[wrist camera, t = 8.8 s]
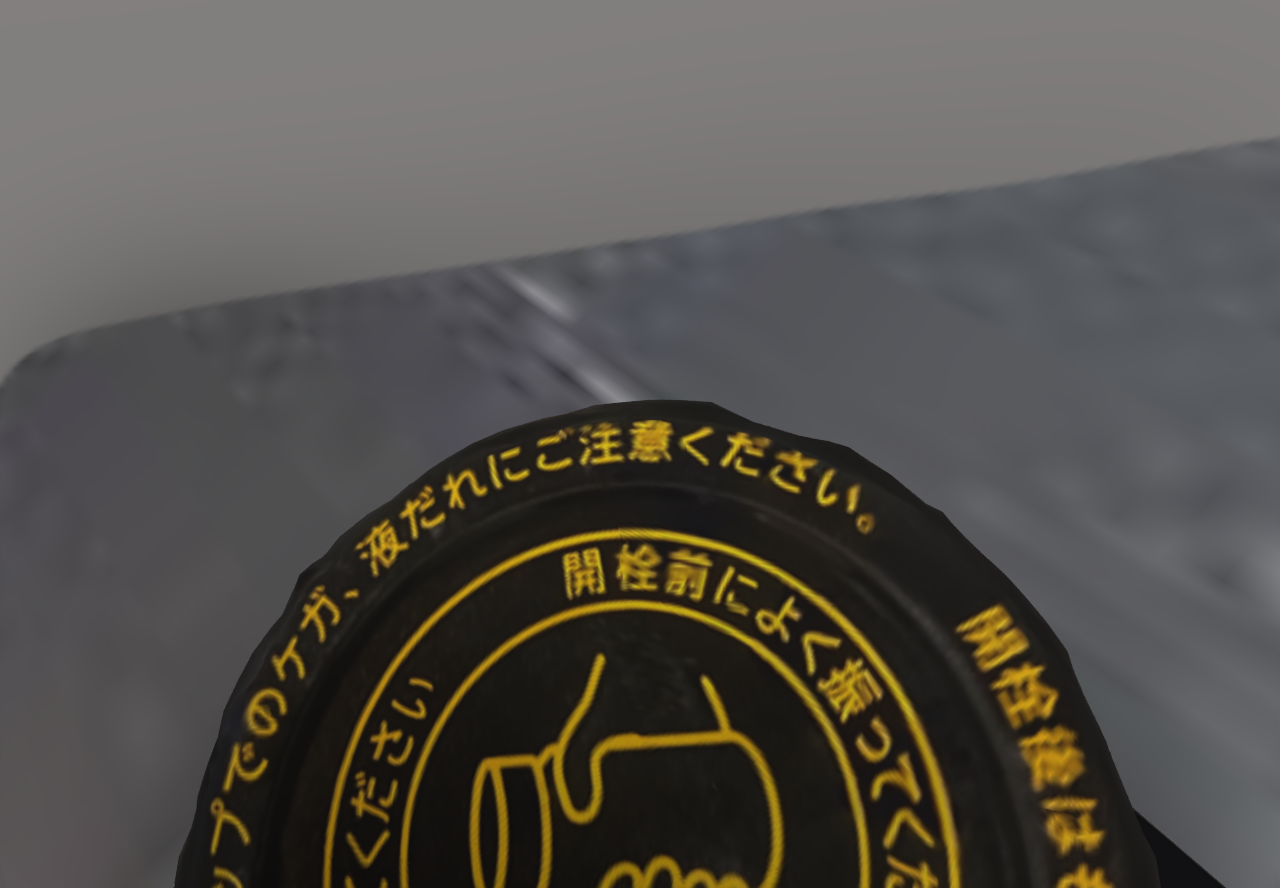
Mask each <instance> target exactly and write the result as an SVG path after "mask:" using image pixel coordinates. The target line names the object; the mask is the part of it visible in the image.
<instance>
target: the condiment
mask: <svg viewBox="0 0 1280 888" xmlns="http://www.w3.org/2000/svg"><path fill="white" fill-rule="evenodd" d="M175 888H1161V884H1160V879H1159V873H1158V867H1157V861H1156V856H1155V854H1154V853H1153V851H1152V849H1151V847H1150V845H1149V843H1148V841H1147V839H1146V837H1145V836H1144V834H1143V831H1142V829H1141V827H1140V824H1139V822H1138V820H1137V817H1136V815H1135V812H1134V810H1133V808H1132V805H1131V803H1130V801H1129V798H1128V796H1127V793H1126V791H1125V789H1124V786H1123V784H1122V781H1121V779H1120V776H1119V774H1118V771H1117V769H1116V767H1115V764H1114V762H1113V759H1112V756H1111V753H1110V752H1109V749H1108V746H1107V743H1106V740H1105V738H1104V736H1103V734H1102V732H1101V729H1100V727H1099V725H1098V723H1097V721H1096V719H1095V717H1094V715H1093V713H1092V711H1091V709H1090V707H1089V705H1088V703H1087V700H1086V698H1085V696H1084V694H1083V692H1082V689H1081V687H1080V685H1079V682H1078V680H1077V677H1076V675H1075V673H1074V670H1073V667H1072V664H1071V661H1070V658H1069V654H1068V652H1067V650H1066V649H1065V647H1064V646H1063V644H1062V643H1061V642H1060V640H1059V639H1058V637H1057V636H1056V635H1055V633H1054V632H1053V630H1052V629H1051V628H1050V626H1049V625H1048V623H1047V622H1046V621H1045V620H1044V619H1043V617H1042V616H1041V615H1040V614H1039V613H1038V611H1037V610H1036V609H1035V608H1034V607H1033V605H1032V604H1031V603H1030V602H1029V600H1028V599H1027V598H1026V597H1025V596H1024V595H1023V594H1022V593H1021V591H1020V590H1019V589H1018V588H1017V587H1016V586H1015V585H1014V584H1013V583H1012V581H1011V580H1010V579H1009V578H1008V577H1007V576H1006V575H1005V574H1004V573H1003V572H1002V571H1001V570H1000V569H998V568H997V567H996V566H995V565H994V564H993V563H992V562H991V561H990V560H989V559H987V558H986V557H985V556H984V555H983V554H982V553H981V552H980V551H979V550H978V549H977V548H976V547H975V546H974V545H973V544H972V543H971V542H970V541H969V540H967V539H966V538H965V537H964V536H963V534H962V533H961V532H960V531H959V530H958V529H957V528H956V527H955V526H954V525H953V524H952V523H951V522H950V520H949V519H948V518H947V517H946V516H945V514H944V513H943V512H942V511H940V510H938V509H935V508H933V507H931V506H929V505H927V504H926V503H924V502H923V501H922V500H921V499H920V498H918V497H917V496H916V495H915V494H913V493H912V492H911V491H910V490H909V489H907V488H906V487H905V486H904V485H903V484H901V483H900V482H899V481H898V480H896V479H895V478H894V477H893V476H892V475H890V474H889V473H887V472H886V471H884V470H882V469H881V468H879V467H878V466H876V465H875V464H873V463H871V462H870V461H868V460H867V459H865V458H864V457H862V456H861V455H859V454H858V453H856V452H855V451H854V450H852V449H851V448H849V447H846V446H843V445H839V444H836V443H833V442H830V441H824V440H818V439H813V438H808V437H803V436H799V435H795V434H792V433H788V432H785V431H782V430H779V429H775V428H772V427H770V426H765V425H762V424H758V423H755V422H752V421H750V420H748V419H746V418H744V417H742V416H739V415H737V414H735V413H733V412H731V411H729V410H727V409H725V408H723V407H720V406H718V405H716V404H714V403H712V402H701V401H686V400H643V401H632V402H621V403H612V404H603V405H594V406H591V407H588V408H584V409H581V410H578V411H574V412H571V413H568V414H564V415H558V416H553V417H548V418H543V419H540V420H536V421H533V422H530V423H526V424H523V425H519V426H516V427H512V428H509V429H506V430H503V431H501V432H498V433H496V434H494V435H491V436H489V437H487V438H484V439H482V440H480V441H477V442H475V443H473V444H471V445H469V446H467V447H466V448H464V449H462V450H460V451H459V452H457V453H455V454H454V455H452V456H450V457H448V458H447V459H445V460H444V461H442V462H440V463H439V464H437V465H436V466H434V467H433V468H431V469H430V470H428V471H427V472H426V473H425V474H423V475H422V476H421V477H420V478H418V479H417V480H416V481H415V482H413V483H411V484H410V485H408V486H407V487H406V488H405V489H404V490H403V491H401V492H400V493H399V494H398V495H397V496H395V497H394V498H393V499H392V500H391V501H389V502H387V503H386V504H384V505H382V506H381V507H379V508H377V509H376V510H374V511H373V512H371V513H369V514H368V515H366V516H365V517H364V518H363V519H361V520H360V521H359V522H358V523H356V524H355V525H354V526H353V527H351V528H350V529H349V530H348V531H346V532H345V533H344V534H343V535H341V536H340V537H339V538H338V540H337V541H336V542H335V543H334V545H333V546H332V547H331V548H330V549H329V551H328V552H327V553H326V554H325V555H324V556H323V557H322V558H321V559H319V560H317V561H316V562H314V563H313V564H311V565H310V566H309V567H308V568H307V569H306V570H305V571H303V572H302V573H301V574H300V575H299V578H298V580H297V583H296V585H295V588H294V590H293V592H292V594H291V596H290V598H289V601H288V603H287V605H286V608H285V610H284V612H283V614H282V616H281V617H280V618H279V619H278V620H277V622H276V623H275V624H274V625H273V626H272V627H271V629H270V630H269V631H268V633H267V634H266V635H265V637H264V638H263V640H262V641H261V642H260V644H259V645H258V646H257V648H256V649H255V651H254V652H253V653H252V655H251V657H250V659H249V661H248V663H247V665H246V667H245V668H244V670H243V672H242V674H241V676H240V678H239V680H238V682H237V684H236V686H235V688H234V690H233V692H232V694H231V697H230V699H229V701H228V703H227V705H226V707H225V709H224V712H223V717H222V721H221V726H220V730H219V735H218V739H217V741H216V744H215V746H214V749H213V752H212V754H211V757H210V760H209V762H208V765H207V768H206V771H205V774H204V777H203V780H202V784H201V787H200V791H199V794H198V799H197V808H196V813H195V817H194V820H193V824H192V828H191V830H190V832H189V835H188V837H187V839H186V842H185V844H184V846H183V849H182V851H181V853H180V856H179V860H178V866H177V872H176V878H175Z"/></svg>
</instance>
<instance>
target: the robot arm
mask: <svg viewBox="0 0 1280 888" xmlns="http://www.w3.org/2000/svg"><path fill="white" fill-rule="evenodd" d="M1133 810H1134V812H1135V815H1136V817H1137V820H1138V822H1139V824H1140V827H1141V829H1142V831H1143V834H1144V836H1145V837H1146V839H1147V841H1148V843H1149V845H1150V847H1151V849H1152V851H1153V853H1154V854H1155V856H1156V861H1157V867H1158V873H1159V879H1160V884H1161V888H1226V887H1224V886H1223V885H1222V884H1221V883H1220V882H1219V881H1217V880H1216V879H1215V878H1214V877H1213V876H1212V875H1210V874H1209V873H1208V872H1207V871H1206V870H1205V869H1203V868H1202V867H1201V866H1200V865H1199V864H1198V863H1196V862H1195V861H1194V860H1193V859H1192V858H1191V857H1189V856H1188V855H1187V854H1186V853H1185V852H1184V851H1182V850H1181V849H1180V848H1179V847H1178V846H1177V845H1175V844H1174V843H1173V842H1172V841H1171V840H1170V839H1168V838H1167V837H1166V836H1165V835H1164V834H1163V833H1161V832H1160V831H1159V830H1158V829H1157V828H1156V827H1154V826H1153V825H1152V824H1151V823H1150V822H1149V821H1147V820H1146V819H1145V818H1144V817H1143V816H1142V815H1140V814H1139V813H1138V812H1137V811H1136V810H1135V809H1133ZM174 888H175V887H174Z"/></svg>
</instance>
